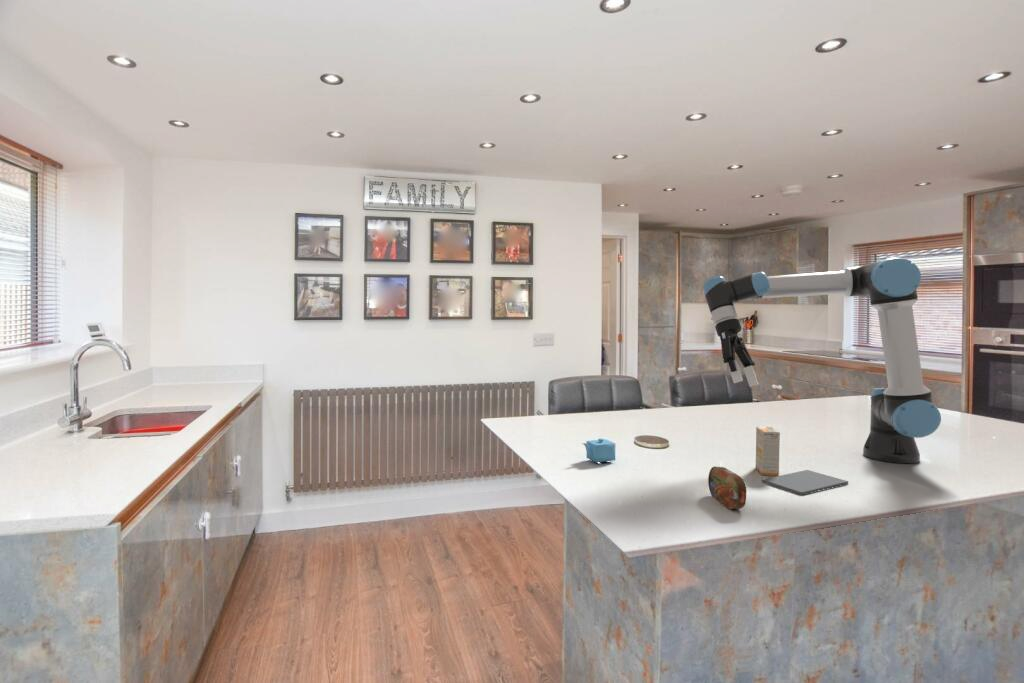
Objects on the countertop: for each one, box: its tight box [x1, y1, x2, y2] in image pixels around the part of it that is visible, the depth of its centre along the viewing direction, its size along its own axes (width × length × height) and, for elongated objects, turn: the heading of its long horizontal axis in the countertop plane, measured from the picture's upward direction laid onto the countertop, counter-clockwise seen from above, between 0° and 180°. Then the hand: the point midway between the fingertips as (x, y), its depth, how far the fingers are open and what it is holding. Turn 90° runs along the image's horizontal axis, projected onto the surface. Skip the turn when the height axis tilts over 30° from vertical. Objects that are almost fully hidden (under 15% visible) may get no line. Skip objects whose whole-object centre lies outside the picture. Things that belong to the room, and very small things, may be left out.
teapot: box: [581, 438, 616, 463], centre depth 168 cm, size 12×6×8 cm, turn 111°
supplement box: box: [755, 426, 781, 477], centre depth 156 cm, size 8×5×13 cm, turn 168°
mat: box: [761, 469, 849, 496], centre depth 146 cm, size 20×12×1 cm, turn 116°
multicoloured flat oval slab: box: [707, 466, 747, 510], centre depth 130 cm, size 15×3×8 cm, turn 5°
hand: (746, 384), depth 163 cm, fingers open, 13 cm apart
